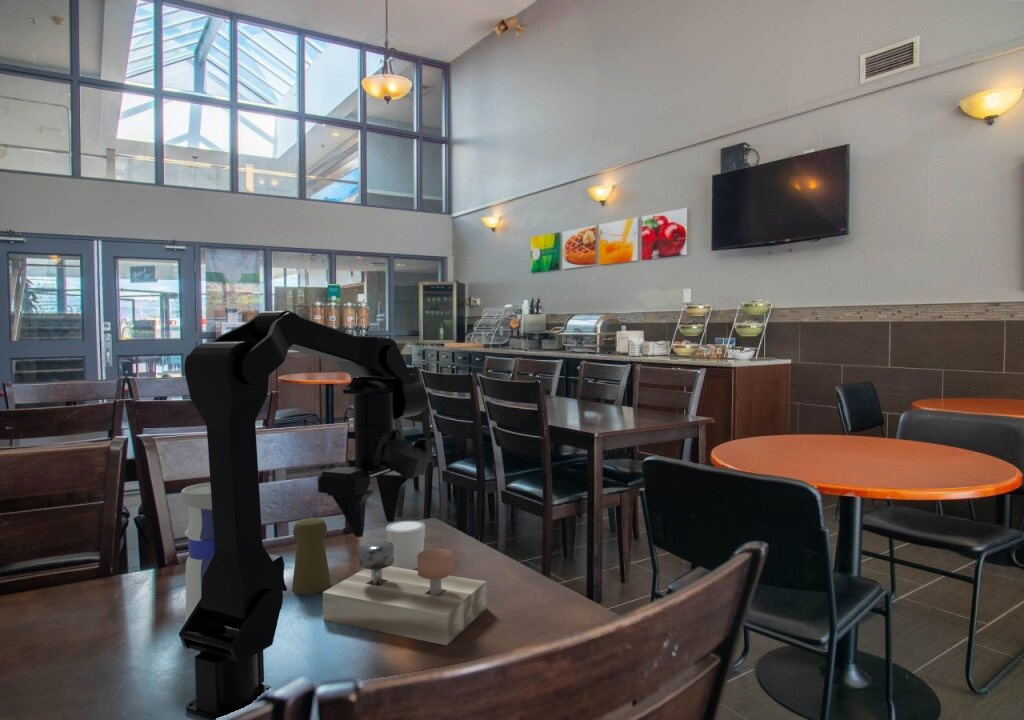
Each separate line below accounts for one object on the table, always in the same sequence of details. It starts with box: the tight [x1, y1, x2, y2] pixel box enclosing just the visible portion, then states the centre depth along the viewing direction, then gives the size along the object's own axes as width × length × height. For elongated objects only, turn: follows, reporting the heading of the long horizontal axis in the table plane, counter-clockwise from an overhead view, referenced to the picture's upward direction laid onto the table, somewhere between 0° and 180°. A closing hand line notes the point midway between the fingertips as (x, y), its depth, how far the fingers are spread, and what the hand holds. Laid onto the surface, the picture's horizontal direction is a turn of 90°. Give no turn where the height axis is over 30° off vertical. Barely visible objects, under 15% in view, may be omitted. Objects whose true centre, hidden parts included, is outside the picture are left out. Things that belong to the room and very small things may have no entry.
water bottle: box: [179, 481, 234, 629], centre depth 88 cm, size 8×9×25 cm
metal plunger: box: [358, 540, 394, 586], centre depth 92 cm, size 5×5×6 cm
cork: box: [291, 517, 332, 595], centre depth 101 cm, size 6×6×11 cm
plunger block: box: [322, 566, 488, 646], centre depth 90 cm, size 12×20×4 cm, turn 67°
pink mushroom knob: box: [417, 548, 454, 596], centre depth 88 cm, size 5×5×6 cm
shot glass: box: [385, 520, 426, 570], centre depth 110 cm, size 7×7×7 cm
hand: (375, 528), depth 92 cm, fingers open, 8 cm apart
